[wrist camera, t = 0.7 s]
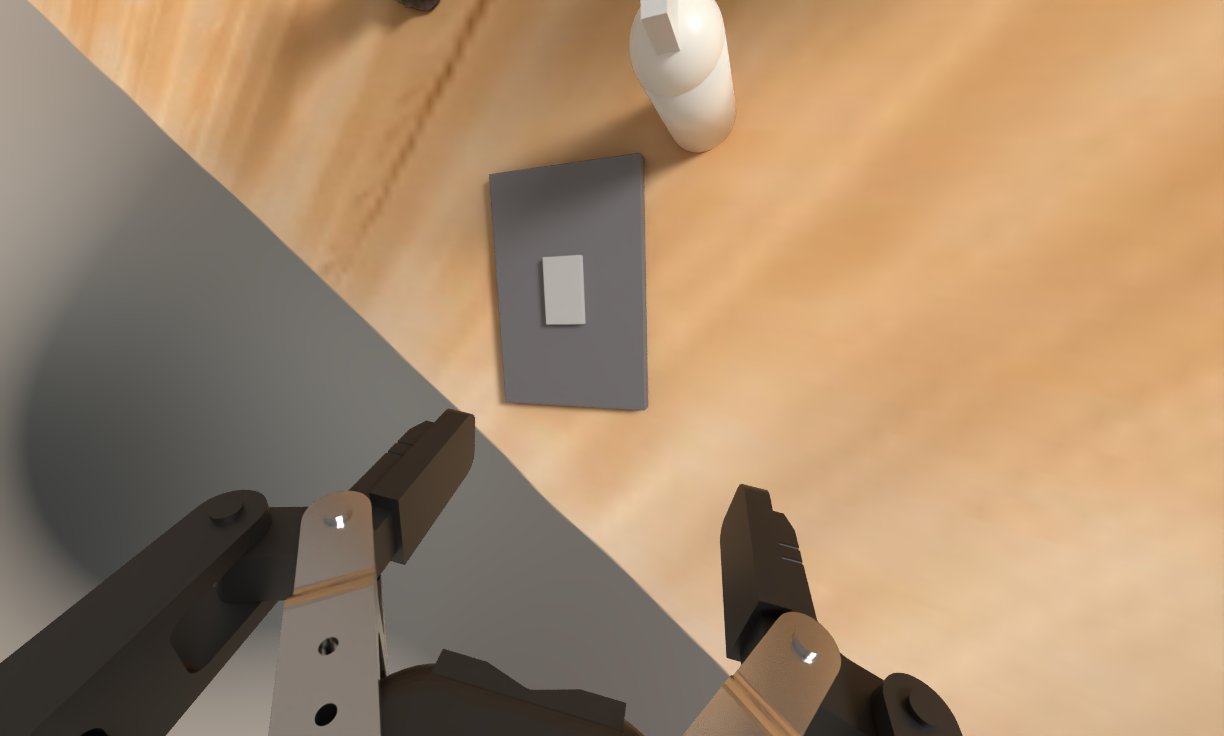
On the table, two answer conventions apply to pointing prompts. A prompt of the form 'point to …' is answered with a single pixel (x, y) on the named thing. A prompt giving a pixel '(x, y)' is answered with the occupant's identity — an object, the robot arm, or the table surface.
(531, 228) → the dock mat
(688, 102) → the white tabbed cylinder
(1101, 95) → the table surface
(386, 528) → the robot arm
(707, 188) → the table surface
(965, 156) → the table surface
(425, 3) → the bare tree trunk
